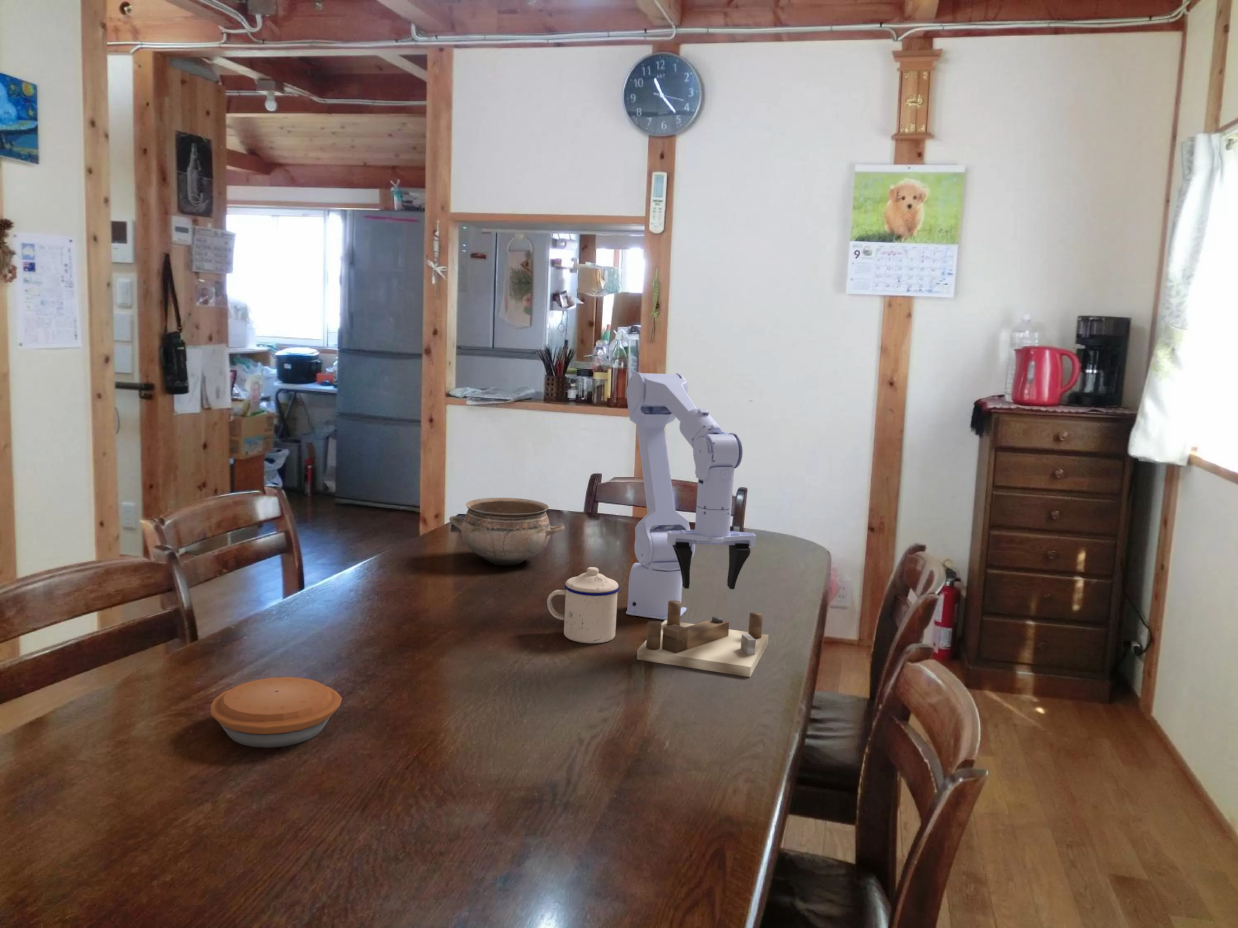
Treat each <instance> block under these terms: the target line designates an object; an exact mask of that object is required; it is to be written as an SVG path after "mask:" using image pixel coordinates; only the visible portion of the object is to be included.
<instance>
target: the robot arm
mask: <svg viewBox="0 0 1238 928" xmlns="http://www.w3.org/2000/svg"><path fill="white" fill-rule="evenodd" d="M625 394H626V395H625V396H626V402H627V409H628V414H629V419H630V421H631V422H632V423H634V424H635V425H636V433H637V440H638V448H639V456H640V463H641V471H642V478H643V479H642V480H643V486H644V494H645V503H646V510H647V511H646V512H647V514H646V515H645V516H643V518H642V519H641V520H639V521H638V522H637V524H636V525H635V527H634V535H635V536H634V539H635V540H634V544H633V545H634V546H633V547H634V554H635V557H636V560H637V562H635V563H633V564H632V566H631V568H630V571H629V577H628V592H627V610H626V611H625V614H626V615H629V616H638V617H643V618H651V619H656V620H663V621H665V620H667V615H668V601H671V600H676V601H680V602H681V603H682V592H683V589H686V590H688V589H690V583H691V581H690V580H691V579H690V578H691V577H690V576H691V574H690V573H691V565H692V559H693V557H694V555H695V551H696V545H702V546H703V545H708V546H709V545H710V546H713V545H714V546H715V545H716V546H728V570H727V571H728V572H727V579H726V580H727V582H726V583H727V584H726V585H727V587H728V588H729V590H735V589H736V583H737V580H738V578H739V575H740V573H741V570H742V568H743V566H744V564H745V562H746V561H747V559H748V558H749V557H750V554H751V550H752V549H751V547H754V548H755V547H756V545H757V543H756V542H757V535H756V534H755V533H754V532H746V531H745V532H744V531H743V532H742V531H735V530H734V531H733V530H731V519H732V504H733V490H734V477H735V469H738V468H739V466H740V465H741V462H742V460H743V451H744V450H743V443H742V441H741V438H740V437H739V435H738V433H734V432H728V431H724V430H723V429H722V427H721V426H720V425H719V423H717V421H716V420H715V419H714V417H712V415H711V414H710V412H709V411H708V409H707V408H697V407H696V405H695V403H694V402H693V400H692V399H691V397H690V396H689V394H688V380H687V379H685V377H684V376H683V374H682V373H679V372H678V373H677V372H676V373H650V372H649V373H647V372H645V373H644V372H638V371H635V372H633V373H632V375H631V376H630V378H629V379H628V383H627V387H626V392H625ZM675 419H677V420H678V421H679V432H680V433H681V435H682V436H683V437H684V439H685V440H686V441H687V442H688V444H689V445H690V446H691V448H692V454H693V461H694V465H695V470H694V472H695V478H697V479H698V480H697V495H696V508H695V521H694V523H695V525H694V529H691V527H690V522H689V519H687V518H686V517H684V516H683V515H682V514H681V513H679V512H678V511H677V510H676V508H675V507H676V506H675V499H674V491H673V485H672V477H671V470H670V469H671V468H670V461H669V455H668V447H667V440H666V432H665V429H666V425H668V424H670V423H673V422H674V421H675ZM686 611H687V607H686V606H685V607H684V606H681V615H680V618H681V617H682V616H683V615H684V613H685V612H686Z"/></svg>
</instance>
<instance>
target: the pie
mask: <svg viewBox="0 0 1238 928" xmlns="http://www.w3.org/2000/svg"><path fill="white" fill-rule="evenodd" d="M342 699H343V698H342V696H341V695H340V693H338V692H337V690H335V689H333V688H332V687H330V686H326V685H325V684H323V683H322V682H319V681H316V680H313V679H310V678H306V677H305V678H303V677H296V676H295V677H291V676H280V677H279V676H277V677H267V678H261V679H255V680H252V681H247V682H244V683H241V684H239V685H236V686H234V687H231V689H228V690H224V691H222V692H221V693H220V694H219V695H217V696H216V697H215V698H214V699H213V701H212V703H211V704H210V715H211V716H212V717H213V718H214V720H215V721H217V722H218V723H219V725H220V726H221V728H223V730H224V731H225V733H226V734H227V736H228V737H229V738H231V740H233V742H235V743H238V744H240V745H243V746H247V747H253V748H263V749H264V748H267V749H269V748H282V747H288V746H295V745H298V744H302V743H304V742H306V741H308V740H310V739H312V738H314V737H316V736H317V735H318V734H320V732H321V731H322V730H323V729H324V728H325V726H326V725H327V723H328V722H329V720H330V717H331V716H333V714H334V713H335V712H336V711H337V710H338V709H339V708H340V705H341V703H342Z"/></svg>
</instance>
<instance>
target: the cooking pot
mask: <svg viewBox="0 0 1238 928" xmlns="http://www.w3.org/2000/svg"><path fill="white" fill-rule="evenodd" d="M465 506H466V508H467V511H466V513H465V516H464V518H460V517H458V516H455V515H451V516H450V517H449V522H450V523H451V524H452V525H453V526H455V527H457V528H458V529H459V530H460V531H461V536H462V540H463V542H464V544H465V545H466V547H467V548H468V549H470V550H471V551H472V552H473V553H474V554H477V555H478V556H480V557H481V558H482V559H484V560H486V561H487V562H489V563H490V564H492V565H496V566H516V565H520V564H521V563H523V562H525V561H527V560H529V559H531V558H533V557H534V556H536V555H537V554H539V553H540V552H542V551H543V550H544V549H545V548H546V547H547V545H548V543H549V541H550V539H551V536H552V535H554V534H558V533H560V532H562V531H563V530H565V528H566V527H565V525H564V524H561V525H557V526H553V525H551V523H550V519H549V517H548V514H547V511H548V510H549V507H550V506H549V505H548V504H546V503H544V502H541V501H538V500H533V499H526V498H515V497H486V498H477V499H473V500H470V501H468V502H466V503H465Z"/></svg>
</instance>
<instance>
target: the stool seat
mask: <svg viewBox="0 0 1238 928" xmlns="http://www.w3.org/2000/svg"><path fill="white" fill-rule="evenodd" d="M681 607H682V601H681V602H680V601H676V600H671V601H668V615H667V620H663V622H661V621H656V620H655V621H654V620H651V621H648V622H647V623H646V625H647V629H646V640H645V641H644V642H643V643H642V644H641V645H640V646H639V647H638V648H637V650H636V651H637V653H636V660H640V661H645V662H650V663H651V662H652V663H658V664H664V665H672V666H679V667H684V668H691V669H694V670H695V669H696V670H701V671H710V672H716V673H722V674H727V675H728V674H729V675H735V676H741V677H746V678H751V676H752V674H753V673H754V671H755V669H756V667H757V665H758V663H759V662H760V659H761V657H762V656H763V654H764V652H765V650H766V648H767V647H768V644H769V636H770V635H769V634H765V633H764V634H763V621H764V620H763V619H764V614H763V612H760V611H750V612H749V620H748V631H743V630H737V629H730V628H729V634H728V636H727V637H724V638H721V639H718V640H715V641H712V642H709V643H706V644H703V645H700V646H697V647H694V648H691V649H688V650H685V651H682V652H679V653H673V652H670V651H667V650H664V649H662V640H663V627H667V626H670V625H673V624H676V625H679V626H682V627H688V626H691V625H695V624H696V623H695V624H694V623H689V622H681V617H680V615H681Z"/></svg>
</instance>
